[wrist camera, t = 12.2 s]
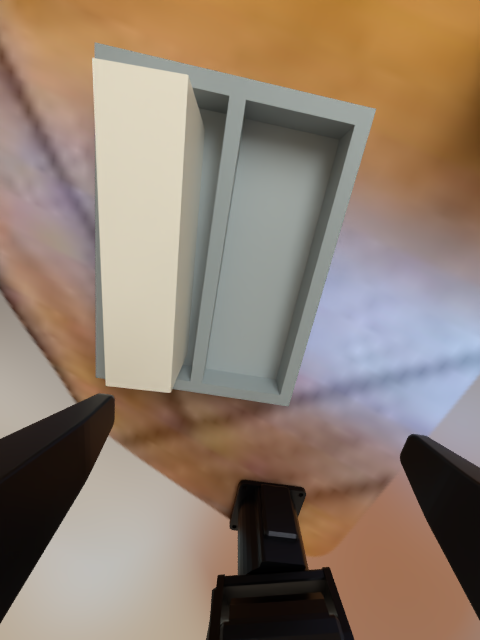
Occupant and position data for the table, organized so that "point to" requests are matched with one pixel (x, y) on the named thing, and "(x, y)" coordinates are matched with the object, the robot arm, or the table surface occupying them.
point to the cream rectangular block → (146, 219)
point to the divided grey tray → (257, 227)
